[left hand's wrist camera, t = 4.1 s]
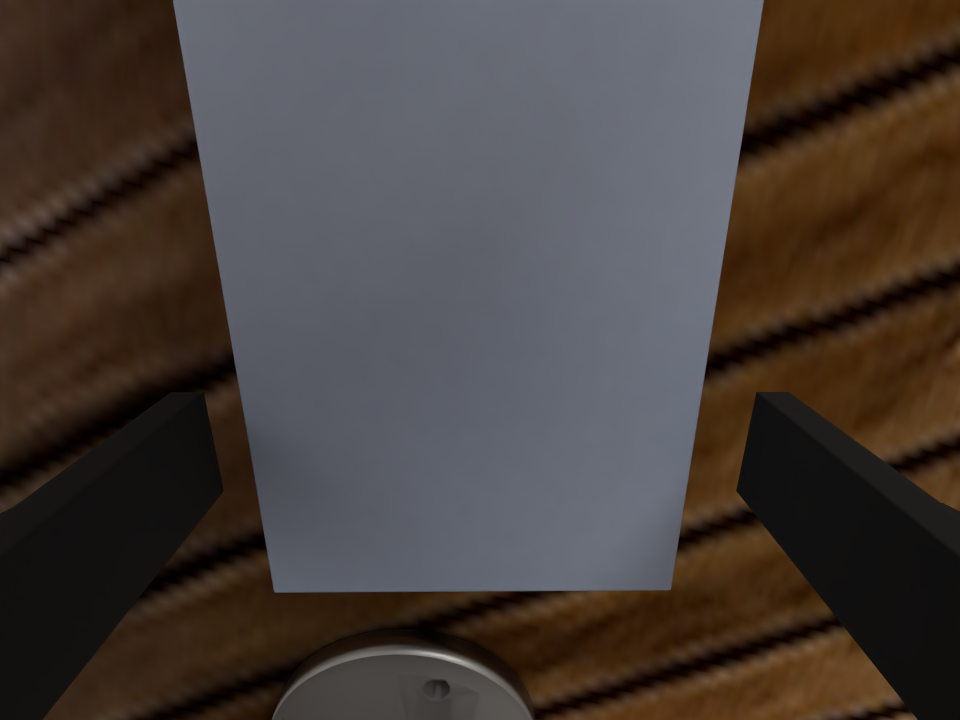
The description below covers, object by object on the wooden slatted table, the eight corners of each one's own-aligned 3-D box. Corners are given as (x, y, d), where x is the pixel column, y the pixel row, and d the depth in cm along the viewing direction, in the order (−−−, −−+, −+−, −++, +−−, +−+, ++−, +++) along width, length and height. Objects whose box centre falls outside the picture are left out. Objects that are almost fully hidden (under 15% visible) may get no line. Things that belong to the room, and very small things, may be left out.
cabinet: (323, -26, 18) (122, -290, 8) (619, -25, 18) (810, -286, 8) (361, 411, 24) (273, 593, 14) (586, 410, 24) (671, 590, 14)
